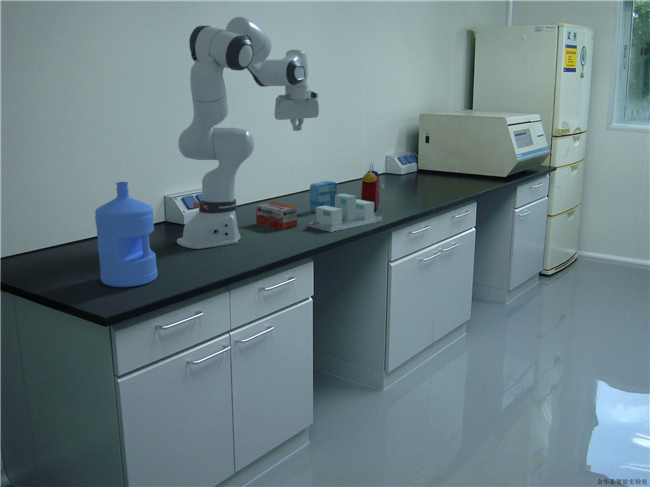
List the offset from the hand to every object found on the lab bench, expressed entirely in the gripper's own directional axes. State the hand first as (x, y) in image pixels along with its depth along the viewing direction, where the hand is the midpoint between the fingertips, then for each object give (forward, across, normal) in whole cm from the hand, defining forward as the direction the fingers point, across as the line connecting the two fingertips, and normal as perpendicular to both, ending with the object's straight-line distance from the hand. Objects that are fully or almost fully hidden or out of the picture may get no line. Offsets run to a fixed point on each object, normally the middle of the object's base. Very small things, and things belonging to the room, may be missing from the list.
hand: (297, 130), depth 258 cm
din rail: (+35, +7, -20) cm, 41 cm away
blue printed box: (+35, +18, +4) cm, 40 cm away
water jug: (+35, -88, -27) cm, 99 cm away
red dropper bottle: (+35, +34, -10) cm, 50 cm away
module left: (+34, -2, -20) cm, 39 cm away
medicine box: (+36, -14, -3) cm, 38 cm away
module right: (+34, +16, -20) cm, 42 cm away
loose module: (+33, +7, -20) cm, 39 cm away
